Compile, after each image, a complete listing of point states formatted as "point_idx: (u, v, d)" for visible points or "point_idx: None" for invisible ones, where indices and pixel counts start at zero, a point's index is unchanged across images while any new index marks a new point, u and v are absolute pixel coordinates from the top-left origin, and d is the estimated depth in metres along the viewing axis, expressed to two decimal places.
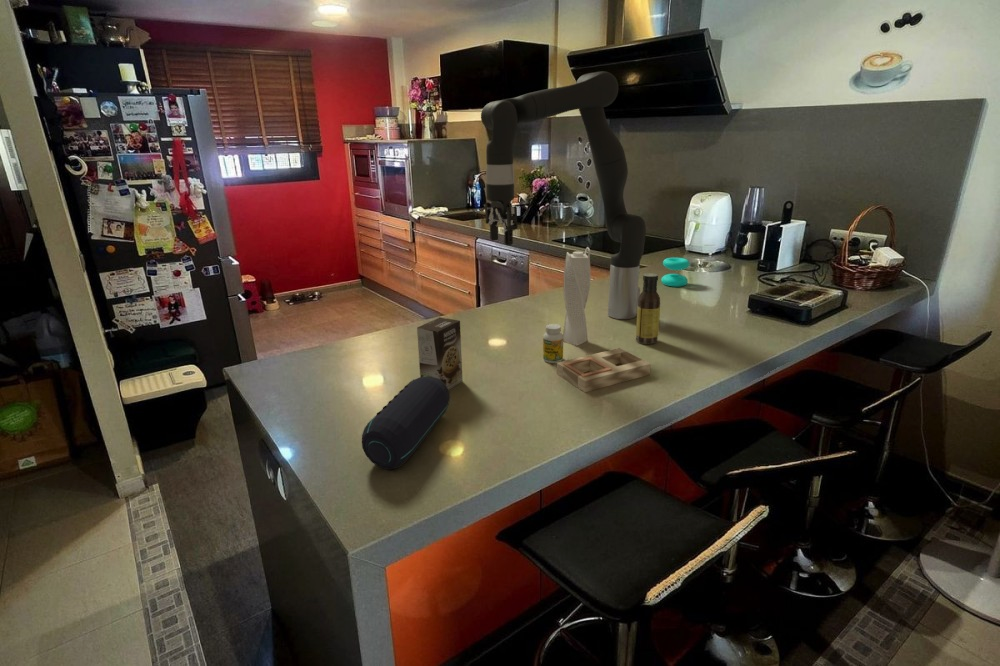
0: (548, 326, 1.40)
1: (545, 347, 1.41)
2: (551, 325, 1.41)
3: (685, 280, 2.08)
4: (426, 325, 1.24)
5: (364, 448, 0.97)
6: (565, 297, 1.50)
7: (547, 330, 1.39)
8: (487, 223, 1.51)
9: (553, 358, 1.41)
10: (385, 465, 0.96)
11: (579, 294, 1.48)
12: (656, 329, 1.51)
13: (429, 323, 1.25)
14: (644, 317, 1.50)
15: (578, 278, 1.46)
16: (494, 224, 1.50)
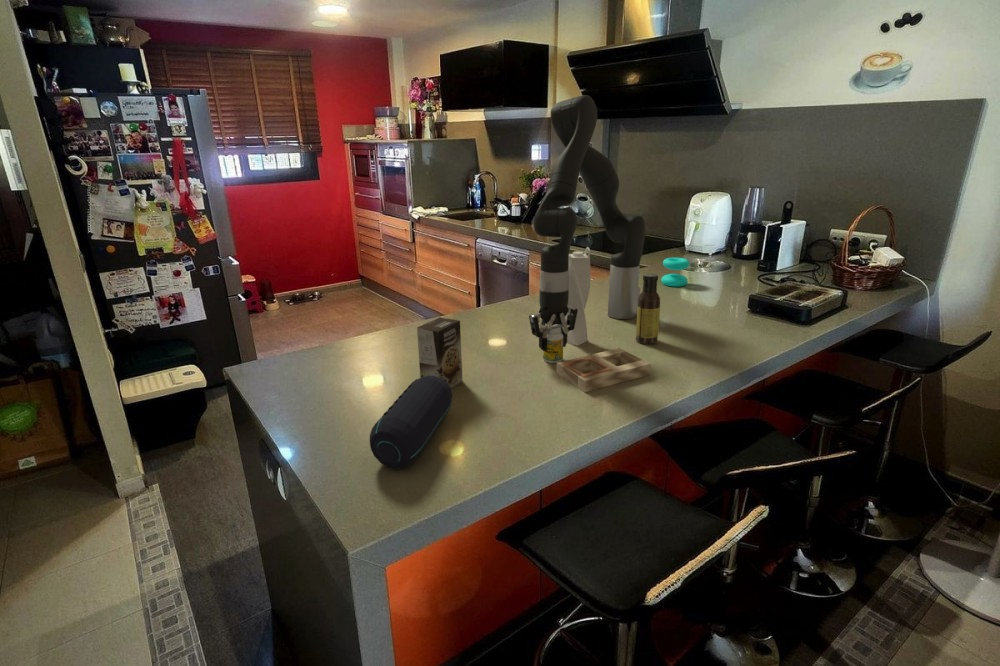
0: None
1: None
2: None
3: (685, 280, 2.08)
4: (426, 325, 1.24)
5: (372, 449, 0.96)
6: None
7: None
8: (539, 336, 1.38)
9: (553, 357, 1.41)
10: (394, 465, 0.96)
11: (579, 294, 1.48)
12: (656, 329, 1.51)
13: (429, 323, 1.25)
14: (644, 317, 1.50)
15: (578, 278, 1.46)
16: None
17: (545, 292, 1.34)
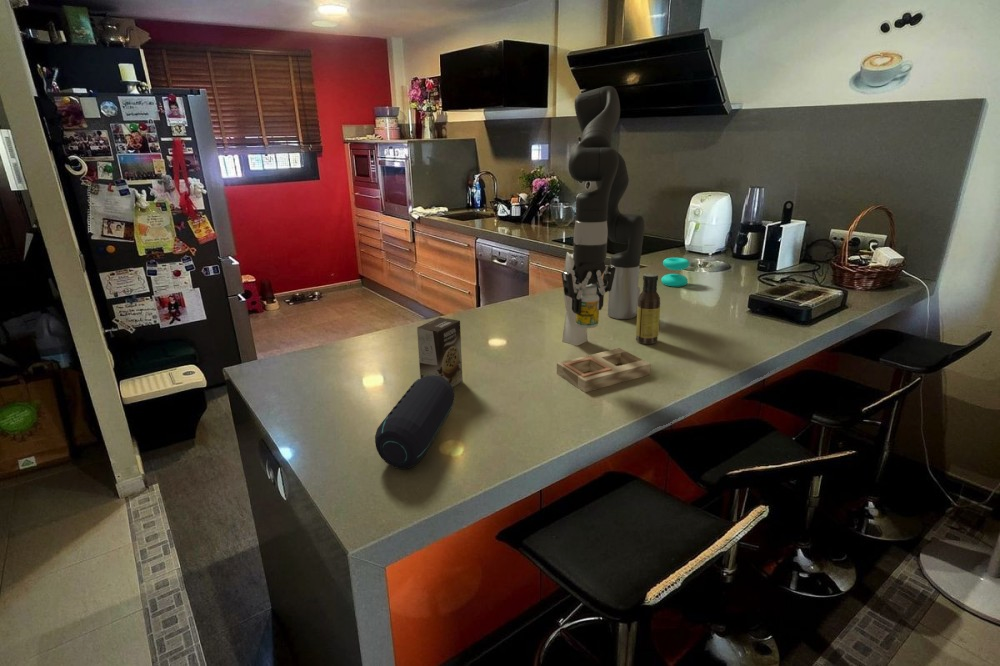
0: None
1: None
2: None
3: (685, 280, 2.08)
4: (426, 325, 1.24)
5: (378, 449, 0.96)
6: (565, 297, 1.50)
7: None
8: (573, 296, 1.22)
9: (588, 322, 1.25)
10: (400, 465, 0.96)
11: None
12: (656, 329, 1.51)
13: (429, 323, 1.25)
14: (644, 317, 1.50)
15: None
16: None
17: (581, 245, 1.18)
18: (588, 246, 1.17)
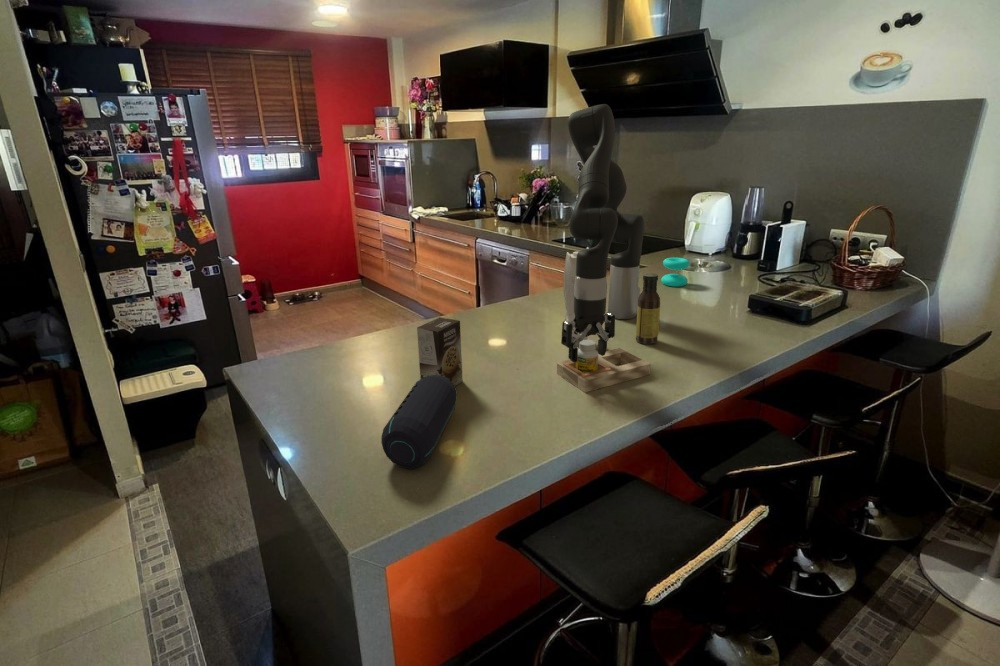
0: (582, 342, 1.29)
1: (579, 365, 1.30)
2: (585, 341, 1.30)
3: (685, 280, 2.08)
4: (426, 325, 1.24)
5: (385, 449, 0.96)
6: (565, 297, 1.50)
7: (581, 347, 1.28)
8: None
9: None
10: (407, 464, 0.96)
11: None
12: (656, 329, 1.51)
13: (429, 323, 1.25)
14: (644, 317, 1.50)
15: None
16: None
17: (581, 300, 1.22)
18: (588, 301, 1.22)
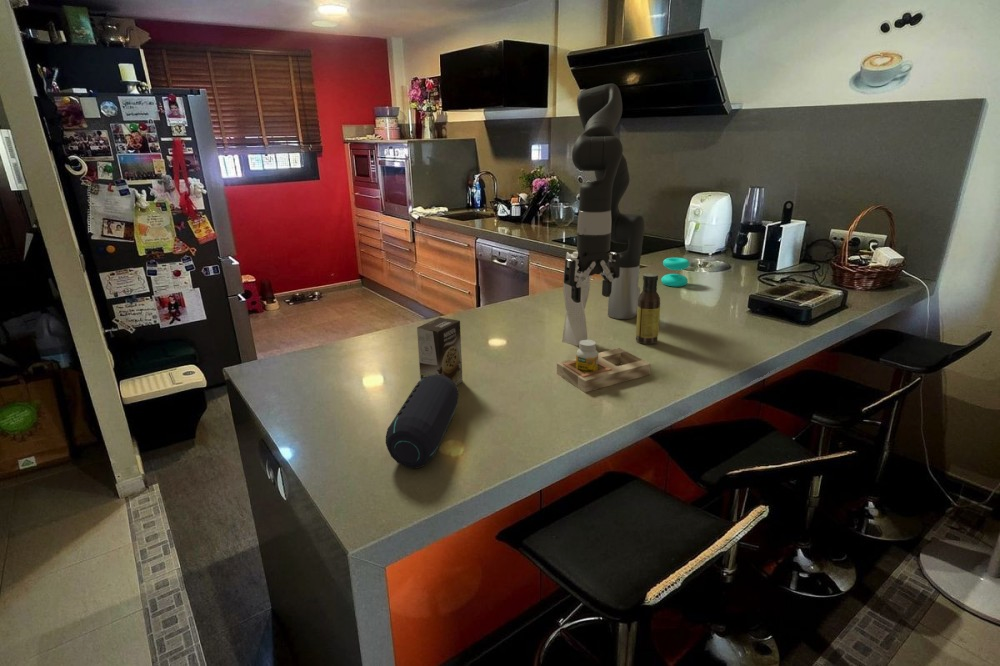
0: (582, 342, 1.29)
1: (579, 365, 1.30)
2: (585, 341, 1.30)
3: (685, 280, 2.08)
4: (426, 325, 1.24)
5: (389, 449, 0.96)
6: (565, 297, 1.50)
7: (582, 347, 1.28)
8: (572, 285, 1.21)
9: None
10: (412, 464, 0.96)
11: None
12: (656, 329, 1.51)
13: (429, 323, 1.25)
14: (644, 317, 1.50)
15: None
16: None
17: (585, 235, 1.18)
18: (592, 236, 1.17)
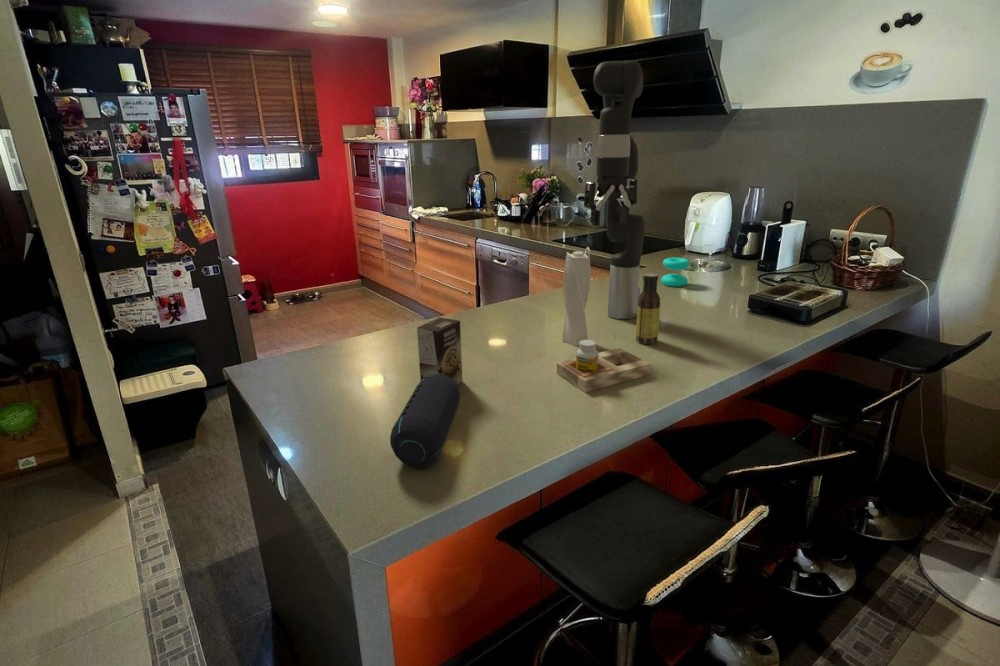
0: (582, 342, 1.29)
1: (579, 365, 1.30)
2: (585, 341, 1.30)
3: (685, 280, 2.08)
4: (426, 325, 1.24)
5: (394, 449, 0.96)
6: (565, 297, 1.50)
7: (582, 347, 1.28)
8: (592, 208, 1.26)
9: None
10: (417, 464, 0.96)
11: (579, 294, 1.48)
12: (656, 329, 1.51)
13: (429, 323, 1.25)
14: (644, 317, 1.50)
15: (578, 278, 1.46)
16: None
17: (605, 158, 1.23)
18: (612, 158, 1.22)
